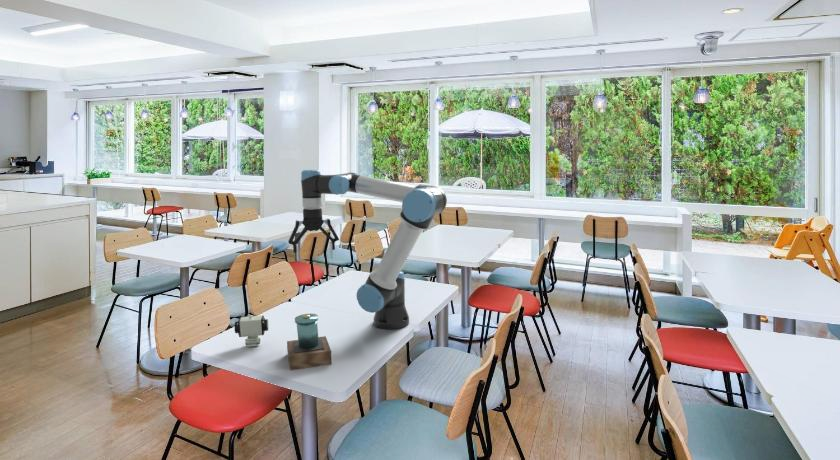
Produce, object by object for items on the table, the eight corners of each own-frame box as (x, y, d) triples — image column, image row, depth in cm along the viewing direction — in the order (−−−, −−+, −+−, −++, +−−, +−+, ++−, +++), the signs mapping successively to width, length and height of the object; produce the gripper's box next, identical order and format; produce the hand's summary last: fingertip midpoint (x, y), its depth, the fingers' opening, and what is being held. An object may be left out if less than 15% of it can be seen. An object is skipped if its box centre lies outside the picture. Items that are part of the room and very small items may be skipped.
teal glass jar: (319, 338, 181) (317, 310, 179) (320, 347, 173) (318, 317, 171) (297, 341, 179) (294, 313, 177) (297, 350, 171) (294, 320, 169)
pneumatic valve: (268, 346, 188) (266, 316, 186) (236, 349, 186) (233, 318, 184) (269, 341, 193) (267, 311, 191) (238, 343, 191) (236, 313, 189)
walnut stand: (326, 348, 185) (325, 335, 184) (331, 364, 172) (331, 349, 171) (287, 354, 181) (286, 340, 180) (290, 370, 168) (289, 355, 167)
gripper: (341, 205, 208) (343, 254, 212) (280, 208, 201) (283, 259, 204) (344, 207, 201) (346, 258, 205) (280, 210, 194) (284, 263, 197)
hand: (314, 259), depth 205 cm, fingers open, 13 cm apart
